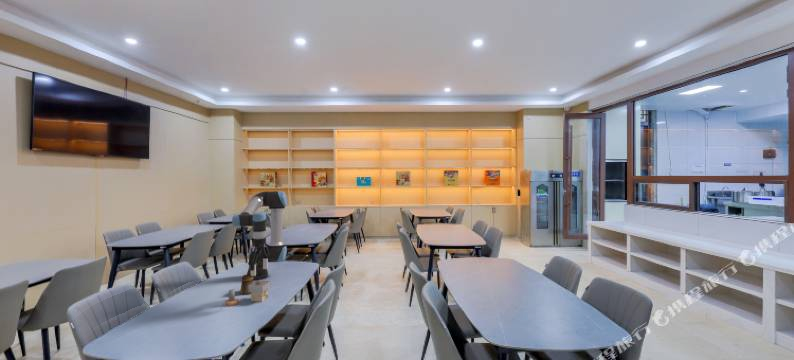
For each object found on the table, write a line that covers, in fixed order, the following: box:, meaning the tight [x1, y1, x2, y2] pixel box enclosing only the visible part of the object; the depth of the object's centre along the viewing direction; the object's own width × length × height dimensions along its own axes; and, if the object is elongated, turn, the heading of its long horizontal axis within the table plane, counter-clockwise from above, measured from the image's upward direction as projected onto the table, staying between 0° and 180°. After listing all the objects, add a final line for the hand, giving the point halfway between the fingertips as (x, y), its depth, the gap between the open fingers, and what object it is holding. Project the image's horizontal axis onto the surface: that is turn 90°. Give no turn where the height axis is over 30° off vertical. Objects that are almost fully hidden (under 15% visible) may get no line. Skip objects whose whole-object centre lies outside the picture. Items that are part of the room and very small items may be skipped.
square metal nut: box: [249, 279, 271, 293], centre depth 189 cm, size 9×9×4 cm
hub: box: [224, 288, 240, 307], centre depth 182 cm, size 7×7×8 cm
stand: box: [250, 280, 269, 303], centre depth 189 cm, size 7×7×11 cm
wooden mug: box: [239, 262, 258, 296], centre depth 202 cm, size 9×14×18 cm, turn 170°
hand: (259, 272), depth 189 cm, fingers open, 13 cm apart
